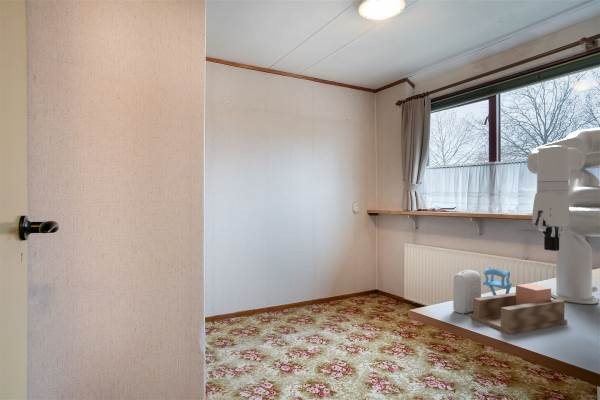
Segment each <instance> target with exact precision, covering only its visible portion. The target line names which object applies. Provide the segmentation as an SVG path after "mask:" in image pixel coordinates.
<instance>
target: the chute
mask: <svg viewBox="0 0 600 400" xmlns="http://www.w3.org/2000/svg"><path fill="white" fill-rule="evenodd" d="M565 303H566V301H563V300H559V299H556V298H553V299H551V300H547V301H541V302H534V303H528V304H521V305H516V292H511V293H510V292H509V294H505V293H504V294H496V295H495V296H494V295H488V296H481V297H480V298H473V311H472V313H473V314H471V315H470V316H471V317H470V318H471V319H472V320H473V321H477V322H478V323H481V324H483V325H486V326H489V327H490V328H494V329H496V330H498V331H501V332H504V333H506V334H509V335H515V334H520V333H525V332H530V331H537V330H540V329H545V328H550V327H551V328H552V327H555V326H562V325H566V324H568V319H566V318H565V308H566V307H565V305H566V304H565Z"/></svg>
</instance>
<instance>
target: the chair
mask: <svg viewBox="0 0 600 400" xmlns="http://www.w3.org/2000/svg"><path fill="white" fill-rule="evenodd" d="M483 274H484V276H485V280H484V281H483V282H482V285H483V286H487V287H488V288H489V289H490V291H491V293H492V296H495V295H497V293H496V291H495V289H494V287H495V288H499V289H504V290H505V293H504V294H509V293H510V290H511V287H512V286H513V283H512V282H510V278H511V277H510V276H511V272H510V271H509V270H506V269H504V270H500V269H498V268H491V267H487V268H485V269H483ZM489 275H490V278H489ZM494 276H498V277H500V278H501V280H500V281H499V280H495V278H494ZM505 278H506V279H505ZM505 280H506V281H505Z"/></svg>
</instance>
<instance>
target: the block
mask: <svg viewBox="0 0 600 400" xmlns="http://www.w3.org/2000/svg"><path fill="white" fill-rule="evenodd" d="M551 292H552V288H550V287H547V286H543V285H539V284H533V283H524V284H516V285H515V293H516V305H521V304H528V303H534V302H541V301H547V300H552V296H551Z"/></svg>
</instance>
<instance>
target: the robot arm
mask: <svg viewBox="0 0 600 400" xmlns="http://www.w3.org/2000/svg"><path fill="white" fill-rule="evenodd" d="M526 165H527V166H526V167H527V169H528V171H529V172H530V173H532V174H535V175H536V192H535V195H534V198H533V199H534V200H533V203H532V204H533V205H532V218H531V219H532V220H531V221H532V222H531V223H532V224H533V226H537V230H538V231H540V232H542V236H543V237H544V238H543V239H544V241H543V242H544V243H543V245H544V246H543V247H544V248H543V249H544V250H545V251H552V252H556V253H555V254H556V259H555V260H556V261H555V262H556V265H555V266H556V269H555V270H556V273H555V274H556V275H555V277H556V278H555V280H556V281H555V288H556V289H555V290H551V298H553V299H559V300H563V301H565V302H568V303H573V304H579V305H580V304H582V305H583V304H584V305H595V304H598V303H599V299H598V298H597V297H596V296H593V293H596V292H598V290H599V289H598V287H596V286H595V285H593V249H592V247H591V245H590V244H589V243H588V241H587V240H586V239H585V238H584V237H599V238H600V180H599V178H598V177H597V176H596V175H595V174H594V173H592V172H591V171H589V170H588V169H600V127H595V128H587V129H581V130H580V129H579V130H575V131H573V132H570V133H569V134H568V135H566V136H565V137H564V138H563V139H559V140H556V141H554V142H549V143H547V144H544V145H543V144H542V145H540V146H538V147H536V148H534V149H533V150H531V151H530V152H529V154H528V156H527V159H526Z"/></svg>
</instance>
